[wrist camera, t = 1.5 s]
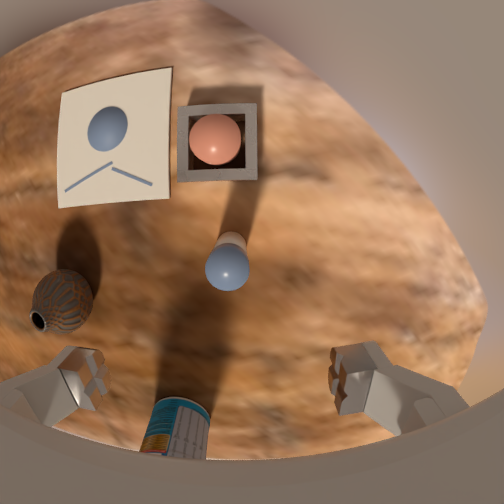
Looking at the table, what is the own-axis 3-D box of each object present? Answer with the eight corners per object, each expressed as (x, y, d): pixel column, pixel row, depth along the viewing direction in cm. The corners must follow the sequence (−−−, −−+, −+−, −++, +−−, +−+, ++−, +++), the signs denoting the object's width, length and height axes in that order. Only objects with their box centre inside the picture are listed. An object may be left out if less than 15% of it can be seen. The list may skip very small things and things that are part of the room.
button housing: (184, 182, 26) (177, 182, 23) (184, 114, 25) (177, 106, 22) (255, 180, 26) (257, 179, 24) (255, 111, 25) (256, 103, 22)
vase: (51, 265, 28) (7, 289, 19) (93, 259, 28) (49, 286, 19) (66, 315, 29) (29, 349, 21) (107, 315, 29) (73, 353, 21)
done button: (195, 166, 25) (189, 164, 21) (195, 123, 24) (189, 115, 20) (241, 165, 25) (240, 162, 21) (240, 121, 24) (240, 113, 20)
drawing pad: (60, 207, 26) (57, 208, 26) (63, 93, 23) (61, 93, 22) (170, 198, 26) (168, 198, 26) (172, 69, 23) (171, 67, 23)
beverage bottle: (217, 403, 33) (208, 536, 13) (204, 436, 35) (193, 549, 15) (156, 386, 32) (114, 513, 13) (150, 422, 34) (119, 530, 14)
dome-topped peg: (215, 261, 28) (206, 291, 20) (214, 230, 27) (204, 249, 20) (247, 261, 28) (249, 290, 21) (246, 230, 28) (249, 248, 20)
